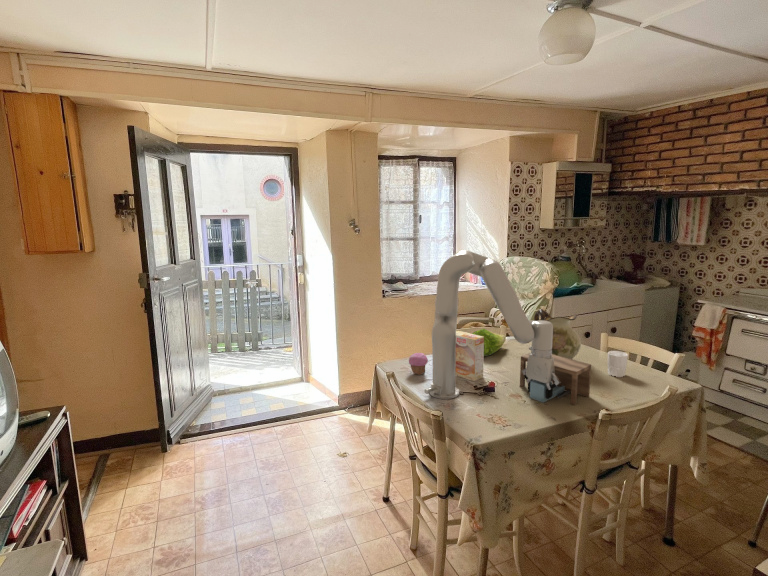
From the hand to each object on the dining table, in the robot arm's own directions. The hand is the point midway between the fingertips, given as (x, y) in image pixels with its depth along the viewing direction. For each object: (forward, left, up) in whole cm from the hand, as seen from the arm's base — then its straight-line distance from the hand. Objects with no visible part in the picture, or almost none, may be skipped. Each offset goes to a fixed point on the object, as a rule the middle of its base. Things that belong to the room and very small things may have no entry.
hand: (539, 394), depth 166 cm
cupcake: (-17, +52, -2) cm, 55 cm away
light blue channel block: (+6, 0, -2) cm, 6 cm away
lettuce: (+34, +49, -2) cm, 59 cm away
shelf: (+11, 0, -2) cm, 11 cm away
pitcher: (+45, +19, -2) cm, 48 cm away
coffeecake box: (-2, +36, -2) cm, 36 cm away
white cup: (+49, -9, -2) cm, 49 cm away
